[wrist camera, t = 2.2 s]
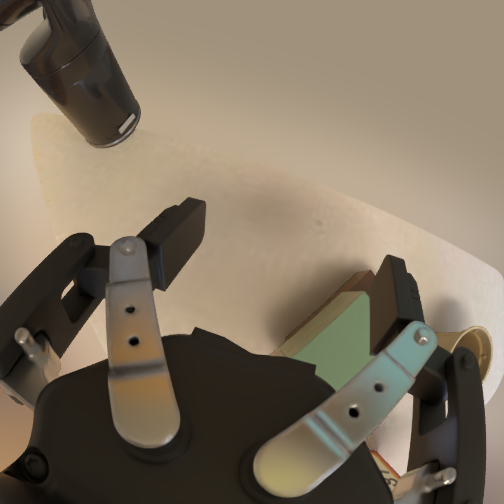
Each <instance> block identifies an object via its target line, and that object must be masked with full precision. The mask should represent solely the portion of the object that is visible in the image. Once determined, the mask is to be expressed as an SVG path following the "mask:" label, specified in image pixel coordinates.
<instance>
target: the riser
mask: <svg viewBox="0 0 504 504" xmlns="http://www.w3.org/2000/svg"><path fill="white" fill-rule="evenodd" d="M374 278H375V275H374V273H373V272H372V271H371V270H367V271H362V272H357V273H356V274H355V275H354V276H353V277H352V278H351V279H350V280H349V281H348V282H347V283H346V284H345V285H343V286H342V287H341V288H340V289H339V290H338V291H337V292H336V293H335V294H334V295H333V296H332V297H331V298H330V299H329V300H327V301H326V302H325V303H324V304H323V305H322V306H321V307H320V308H319V309H318V310H316V311H315V312H314V313H313V314H312V315H311V316H310V317H309V318H307V319H306V320H305V321H304V322H303V323H302V324H301V325H299V326H298V327H297V328H296V329H295V330H294V331H292V332H291V333H290V334H289V335H288V336H287V337H286V339H287V340H289V339H290V338H291V337H292V336H293V335H295V334H296V333H297V332H298V331H299V330H300V329H302V328H303V327H304V326H305V325H306V324H307V323H308V322H310V321H311V320H312V319H313V318H314V317H315V316H316V315H317V314H318V313H320V312H321V311H322V310H323V309H324V308H325V307H326V306H327V305H328V304H329V303H331V302H332V301H333V300H334V299H335V298H336V297H337V296H338V295H339V294H340V293H341V292H354V291H365V292H366V294H367V295H368V296H369V293H370V288H371V285H372V282H373V280H374Z"/></svg>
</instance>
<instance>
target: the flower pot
mask: <svg viewBox="0 0 504 504" xmlns="http://www.w3.org/2000/svg"><path fill="white" fill-rule="evenodd" d="M435 334H436V337H437V341H438V343H437V345H439V346H440V347H442V348H444V349H445V350H447V351H449V352H451V353H453V352H454V351H455V350H456V349H457V348H458V347H465V348H468V349H469V350H471V351H472V352H473V353H474V355H475V356H476V358H477V360H478V363H479V368H480V375H481V382H482V384H483V382H484V380H485V378H486V376H487V374H488V372H489V369H490V365H491V361H492V354H493V346H492V341H491V337H490V335H489V333H488V332H487V330H486V329H485V328H483V327H481V326H473V327H470V328H468V329H466V330H463V331H461V332H449V333H435Z"/></svg>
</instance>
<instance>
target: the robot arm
mask: <svg viewBox="0 0 504 504" xmlns="http://www.w3.org/2000/svg"><path fill="white" fill-rule="evenodd" d="M41 6H42V7H43V17H44V21H43V22H42V23H41V24H40V25H39V26H38V27H37V28H36V29H35V30H34V31H33V32H32V34H31V35H30V36H29V38H28V39H27V40H26V42H25V43H24V45H23V47H22V49H21V52H20V63H21V65H22V66H23V68H24V69H25V70H26V71H27V72H28V74H29V75H30V76H31V77H32V78H33V79H34V80H35V82H36V83H37V84H38V85H39V86H40V87H41V88H42V90H43V91H44V92H45V93H46V94H47V95H48V97H49V98H50V99H51V100H52V101H53V102H54V104H55V105H56V106H57V107H58V108H59V109H60V110H61V111H62V113H63V114H64V115H65V116H66V117H67V118H68V119H69V120H70V122H71V123H72V124H73V125H74V126H75V127H76V128H77V129H78V131H79V132H80V133H81V134H82V135H83V136H84V137H85V139H86V140H87V141H88V142H89V143H90V144H91V145H92V146H94V147H98V148H106V147H111V146H114V145H116V144H118V143H120V142H121V141H123V140H124V139H126V138H127V137H128V136H129V135H130V134H131V133H132V132H133V130H134V129H135V128H136V126H137V124H138V122H139V119H140V115H141V111H140V106H139V104H138V102H137V100H136V99H135V98H134V96H133V93H132V91H131V89H130V87H129V85H128V83H127V81H126V79H125V77H124V75H123V73H122V71H121V69H120V67H119V64H118V62H117V60H116V58H115V56H114V54H113V52H112V50H111V48H110V46H109V43H108V41H107V39H106V37H105V35H104V33H103V31H102V29H101V26H100V24H99V22H98V20H97V18H96V15H95V12H94V9H93V6H92V3H91V0H0V31H2V30H4V29H6V28H7V27H9V26H11V25H12V24H14V23H15V22H17V21H18V20H20V19H21V18H23V17H25V16H26V15H28V14H30V13H31V12H33V11H34V10H36V9H38V8H40V7H41ZM205 215H206V202H205V201H203V200H199V199H195V198H191V197H188V198H187V199H186V200H185V201H183V202H182V203H181V204H180V205H179V206H177V205H174V206H172V207H169V208H167V209H165V210H164V211H163V212H162V213H161V214H160V215H159V216H157V217H156V218H155V219H154V220H153V221H152V222H151V223H150V224H149V225H147V226H146V227H145V228H144V229H143V230H142V231H141V232H140V233H139V234H138V235H137V236H136V237H134V236H128V237H123V238H120V239H118V240H116V241H115V242H114V243H113V244H112V245H111V246H101V245H95V243H94V238H93V236H92V235H90V234H88V233H76V234H73V235H71V236H69V237H68V238H66V239H65V240H64V241H63V242H62V243H61V244H60V245H59V246H58V247H57V248H56V249H54V251H52V252H51V254H49V255H48V256H47V257H46V258H45V259H44V260H43V261H42V262H41V263H40V264H39V265H38V266H37V267H36V268H35V269H34V270H33V271H32V272H31V273H30V274H29V275H28V276H27V277H26V279H25V280H24V281H23V282H22V283H21V284H20V285H19V286H18V287H17V288H16V289H15V290H14V292H13V293H12V294H11V295H10V296H9V297H8V298H7V300H6V301H5V302H4V303H3V304H2V305H1V306H0V389H1V390H2V391H3V392H4V393H5V394H7V395H9V396H10V397H11V398H12V399H13V400H14V401H15V402H17V403H18V404H20V405H26V406H27V407H28V408H29V409H31V410H32V411H33V412H34V419H33V428H32V433H31V437H30V441H29V444H28V446H27V448H26V450H25V452H24V453H23V454H22V455H21V456H20V457H19V458H18V459H17V460H16V461H15V462H14V463H12V464H11V465H10V466H9V467H7V468H6V469H5V470H3V471H2V472H1V473H0V504H483V497H484V486H485V471H486V424H485V409H484V398H483V389H482V382H481V375H480V368H479V363H478V360H477V358H476V356H475V355H474V353H473V352H472V351H471V350H469V349H468V348H465V347H458V348H457V349H456V350H455V351H454V352H453V353H451V352H449V351H447V350H445V349H444V348H442V347H440V346H439V345H437V343H438V341H437V337H436V334H435V333H434V331H433V330H432V329H431V328H430V327H429V326H428V325H427V324H425V321H424V315H423V310H422V305H421V301H420V295H419V293H418V292H419V291H418V286H417V283H416V281H415V279H414V278H413V276H412V275H411V274H410V273H407V270H406V266H405V261H404V259H401V258H398V257H395V256H392V255H389V254H388V255H386V257H385V258H384V260H383V262H382V264H381V266H380V268H379V270H378V272H377V274H376V276H375V278H374V280H373V282H372V285H371V288H370V293H369V302H370V353H369V355H371V356H375V357H374V358H373V359H372V360H371V361H370V362H369V363H368V364H367V365H366V366H365V367H364V368H363V369H362V370H361V371H359V372H358V373H357V374H356V375H355V376H354V377H353V378H352V379H351V380H349V381H348V382H347V383H346V384H345V385H344V386H342V387H341V388H340V389H339V390H338V391H337V392H336V390H335V389H334V388H333V387H332V386H331V385H330V384H329V383H328V382H326V381H325V380H324V379H322V378H321V377H319V376H318V375H316V374H315V371H316V365H315V364H311V363H307V362H304V361H300V360H296V359H293V358H289V357H283V356H269V355H257V354H252V353H250V352H248V351H247V350H245V349H243V348H241V347H240V346H238V345H236V344H235V343H233V342H231V341H230V340H228V339H226V338H225V337H222V336H220V335H217V334H214V333H211V332H208V331H205V330H203V329H200V328H197V327H195V328H194V330H193V332H192V334H191V335H187V334H175V335H168V336H163V337H161V335H160V330H159V325H158V319H157V314H156V308H155V303H154V297H153V291H154V290H155V288H157V289H159V290H162V291H164V292H165V291H166V289H167V288H168V287H169V285H170V284H171V283H172V281H173V280H174V278H175V277H176V276H177V274H178V273H179V272H180V270H181V269H182V268H183V266H184V265H185V264H186V262H187V261H188V260H189V258H190V257H191V256H192V254H193V253H194V252H195V250H196V249H197V248H198V247H199V245H200V244H201V242H202V240H203V236H204V231H205ZM72 280H73V282H74V286H73V287H72V288H71V289H70V290H69V291H68V293H67V294H66V295H65V296H64V297H63V299H62V300H61V296H62V293H63V291H64V289H65V288H66V287H67V286H68V285H69V283H70V282H71V281H72ZM103 298H105V299H106V332H107V349H108V359H105V360H103V361H100V362H98V363H95V364H92V365H90V366H87V367H85V368H82V369H79V370H77V371H74V372H72V373H69V374H66V375H63V376H61V377H60V376H59V372H60V369H61V362H60V359H61V357H62V356H63V354H64V353H65V351H66V349H67V348H68V347H69V345H70V344H71V342H72V341H73V339H74V338H75V337H76V335H77V334H78V332H79V331H80V330H81V328H82V327H83V325H84V324H85V323H86V321H87V320H88V318H89V317H90V316H91V314H92V313H93V312H94V310H95V309H96V308H97V306H98V305H99V304H100V302H101V301H102V300H103ZM407 392H408V393H409V394H411V395H413V418H412V431H411V442H410V451H409V459H408V466H407V473H405V474H404V475H402V476H401V477H400V479H399V480H398V482H397V484H396V487H395V488H394V489H393V491H391V489H390V487H389V485H388V483H387V481H386V479H385V478H384V476H383V474H382V472H381V470H380V468H379V467H378V465H377V463H376V461H375V459H374V458H373V456H372V454H371V452H370V450H369V448H368V447H367V445H366V443H365V441H364V440H365V439H366V438H367V437H368V436H369V435H370V434H371V433H372V432H373V431H374V430H375V429H376V428H377V427H378V425H379V424H380V423H381V422H382V421H383V420H384V419H385V418H386V417H387V415H388V414H389V413H390V412H391V411H392V410H393V408H394V407H395V406H396V405H397V404H398V402H399V401H400V400H401V399H402V398H403V396H404V395H405V394H406V393H407ZM446 400H448V414H447V417H446V410H445V401H446Z"/></svg>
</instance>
